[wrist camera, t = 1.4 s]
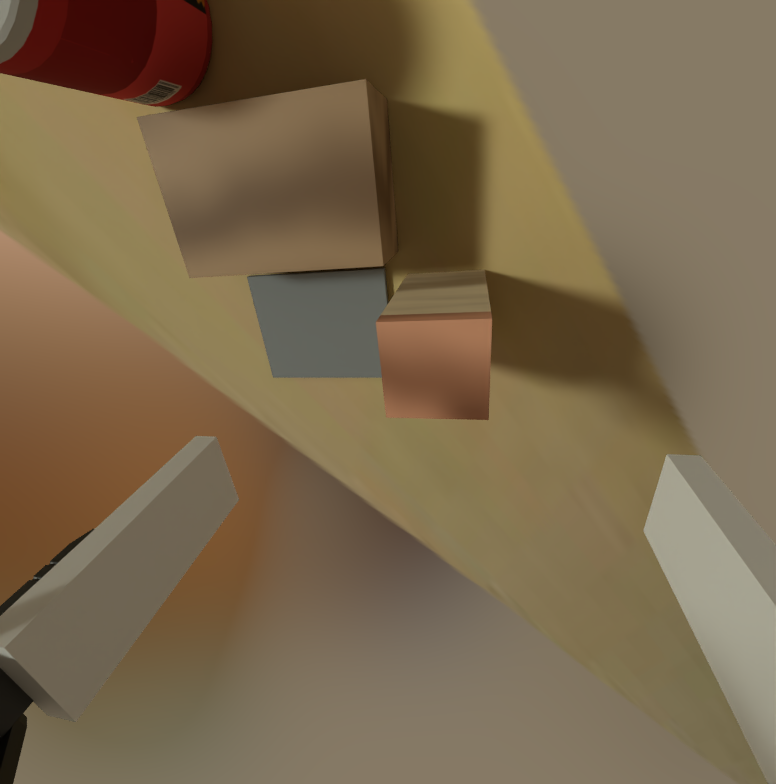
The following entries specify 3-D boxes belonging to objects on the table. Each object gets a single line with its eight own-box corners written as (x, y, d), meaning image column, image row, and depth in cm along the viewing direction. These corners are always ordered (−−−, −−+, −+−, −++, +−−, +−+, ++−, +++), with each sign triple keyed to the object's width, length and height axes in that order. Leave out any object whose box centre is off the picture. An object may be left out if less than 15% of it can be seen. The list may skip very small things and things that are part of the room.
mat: (249, 275, 28) (247, 277, 27) (384, 267, 26) (383, 269, 25) (275, 375, 31) (273, 377, 31) (394, 375, 29) (393, 377, 29)
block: (407, 273, 26) (375, 322, 17) (484, 269, 25) (492, 318, 16) (412, 344, 28) (386, 417, 19) (482, 342, 27) (488, 419, 18)
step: (197, 128, 24) (136, 117, 19) (386, 99, 21) (365, 78, 17) (233, 262, 27) (189, 278, 23) (398, 250, 25) (383, 266, 21)
